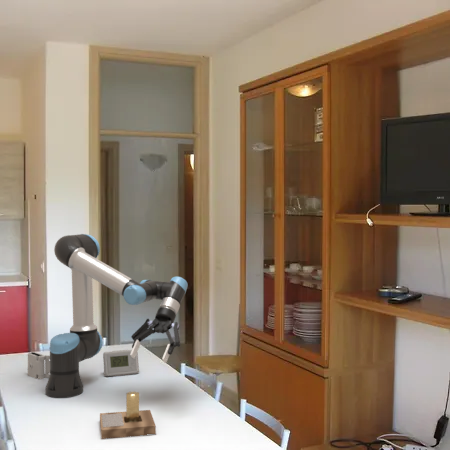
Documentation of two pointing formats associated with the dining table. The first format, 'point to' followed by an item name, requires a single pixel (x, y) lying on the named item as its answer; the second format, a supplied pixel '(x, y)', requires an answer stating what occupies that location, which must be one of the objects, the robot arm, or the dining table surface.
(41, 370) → the grey slotted box
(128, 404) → the pin
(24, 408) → the dining table surface
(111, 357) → the digital clock
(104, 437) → the brown block with recess
